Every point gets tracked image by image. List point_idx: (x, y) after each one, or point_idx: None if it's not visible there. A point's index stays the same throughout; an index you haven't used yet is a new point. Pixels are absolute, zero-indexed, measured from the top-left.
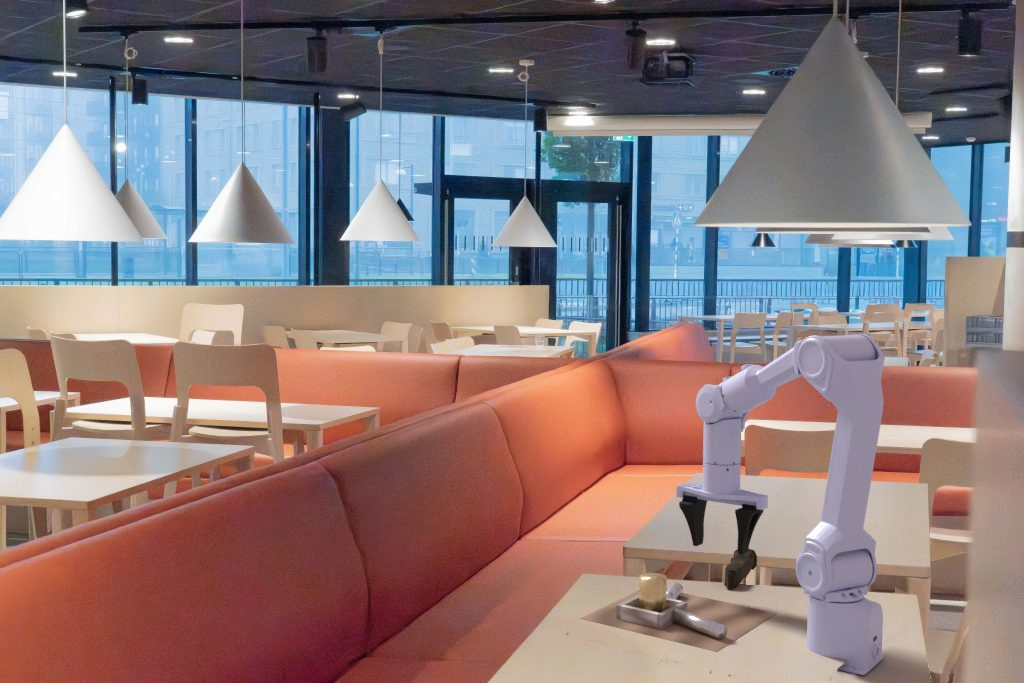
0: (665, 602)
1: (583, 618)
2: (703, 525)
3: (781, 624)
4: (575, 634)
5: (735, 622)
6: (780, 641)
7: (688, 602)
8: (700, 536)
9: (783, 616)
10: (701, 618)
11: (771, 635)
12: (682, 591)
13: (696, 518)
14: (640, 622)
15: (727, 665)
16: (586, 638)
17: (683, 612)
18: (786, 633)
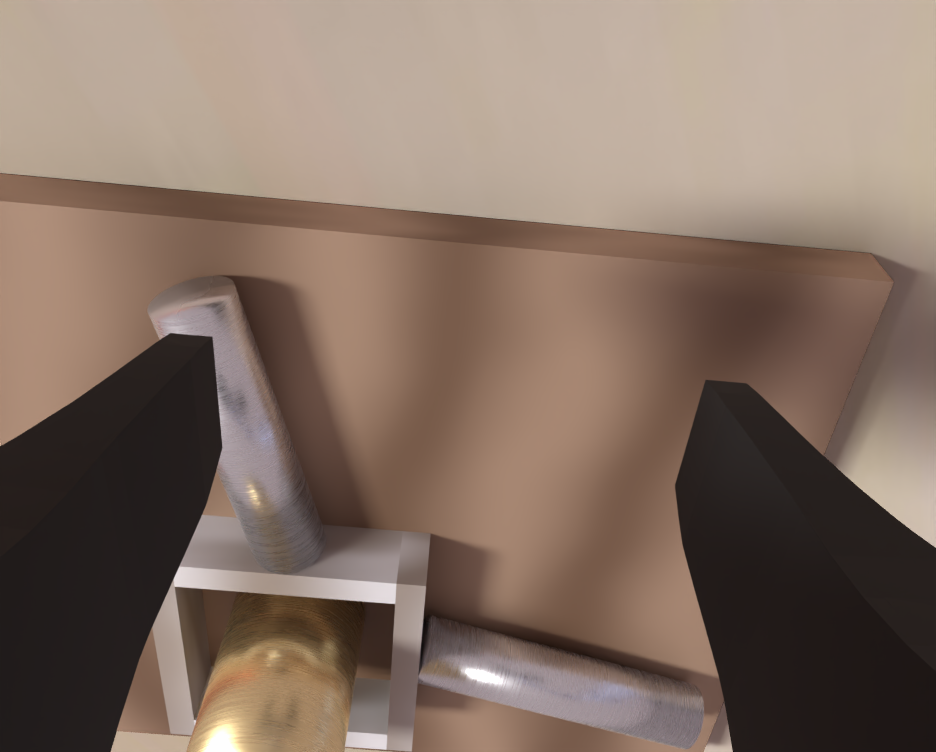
0: (354, 674)
1: None
2: (130, 433)
3: (897, 260)
4: (125, 732)
5: None
6: (905, 480)
7: (337, 364)
8: (188, 435)
9: (902, 110)
10: (580, 718)
11: (855, 433)
12: (241, 304)
13: (102, 681)
14: None
15: (727, 738)
16: (183, 743)
17: (475, 694)
18: (932, 375)
